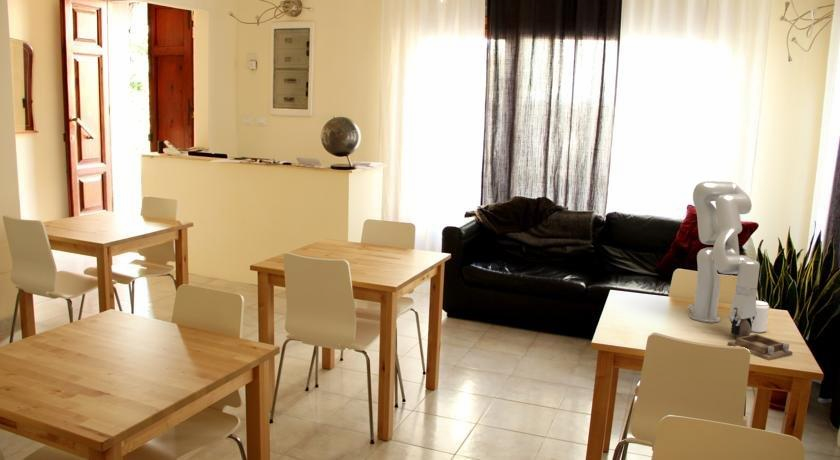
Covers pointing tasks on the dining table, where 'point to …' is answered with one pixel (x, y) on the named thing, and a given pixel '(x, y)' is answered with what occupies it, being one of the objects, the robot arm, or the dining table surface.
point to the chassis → (762, 346)
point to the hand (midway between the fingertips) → (740, 332)
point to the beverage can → (760, 317)
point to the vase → (743, 328)
